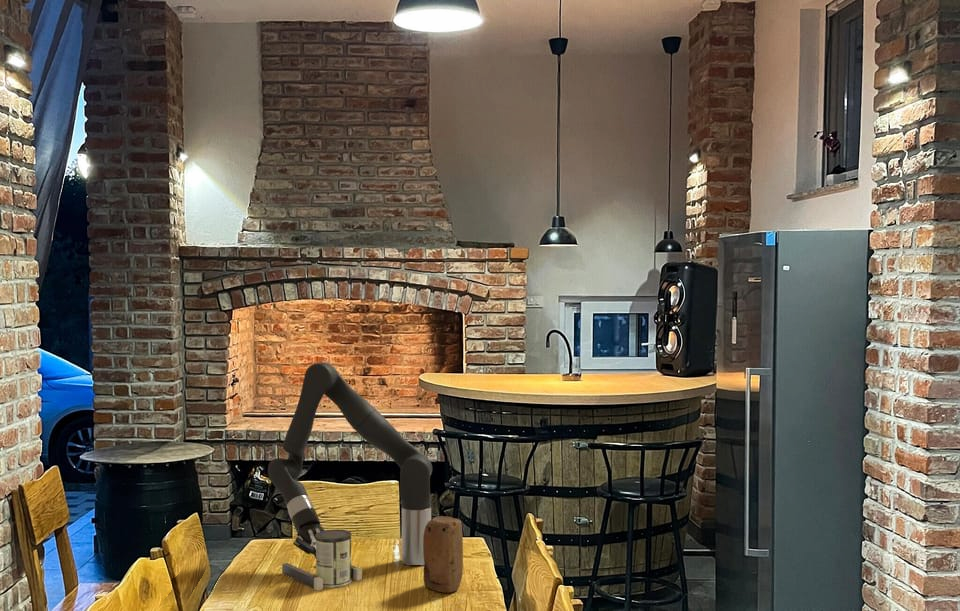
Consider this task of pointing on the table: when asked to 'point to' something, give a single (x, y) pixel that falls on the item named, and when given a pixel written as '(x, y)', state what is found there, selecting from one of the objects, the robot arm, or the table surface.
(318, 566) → the coffee can
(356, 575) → the grey parallel rails
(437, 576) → the block
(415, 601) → the table surface
